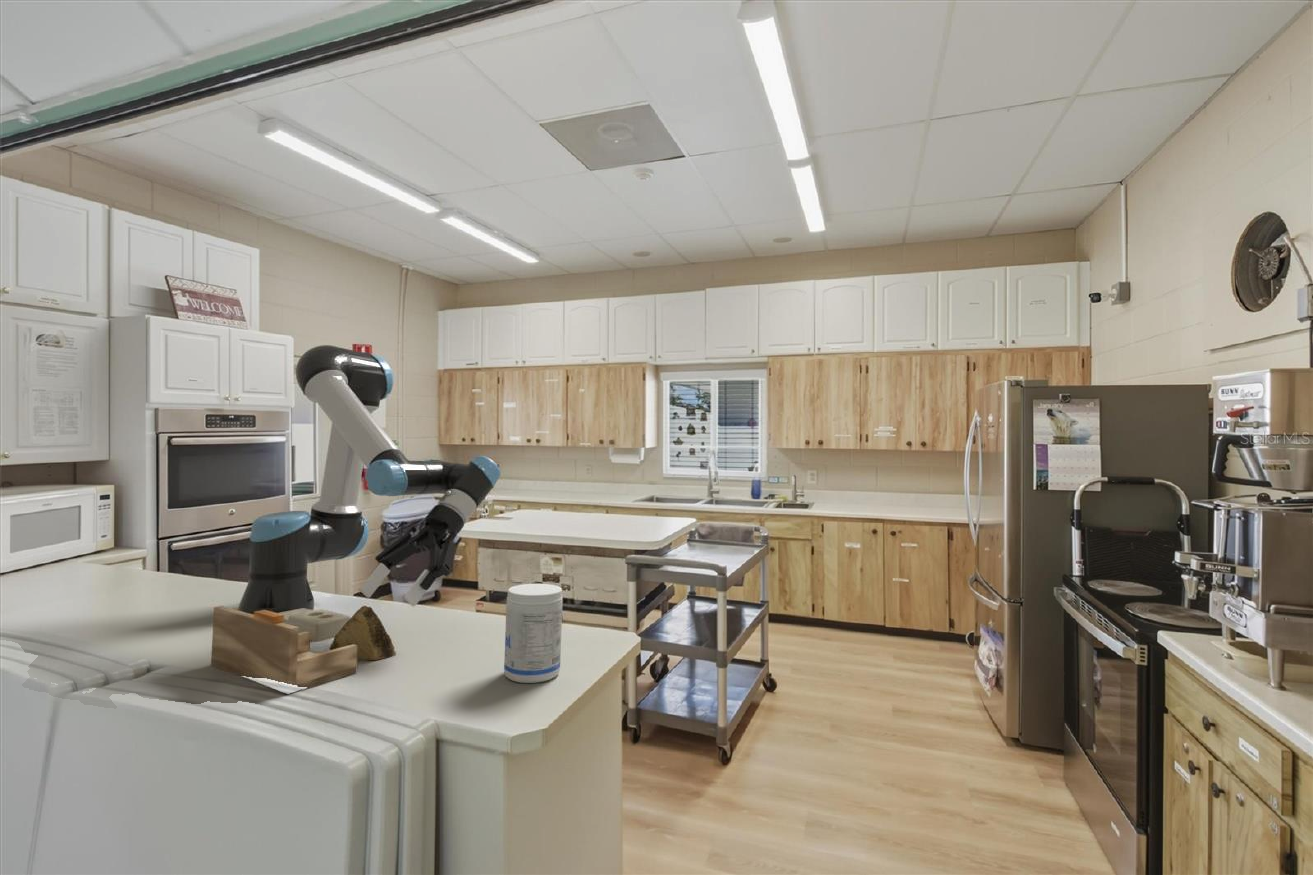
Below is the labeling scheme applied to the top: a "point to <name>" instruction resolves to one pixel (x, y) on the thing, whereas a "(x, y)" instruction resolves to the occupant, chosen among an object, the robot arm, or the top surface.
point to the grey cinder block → (316, 622)
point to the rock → (365, 636)
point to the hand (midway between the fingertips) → (385, 598)
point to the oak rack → (274, 650)
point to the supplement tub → (533, 632)
